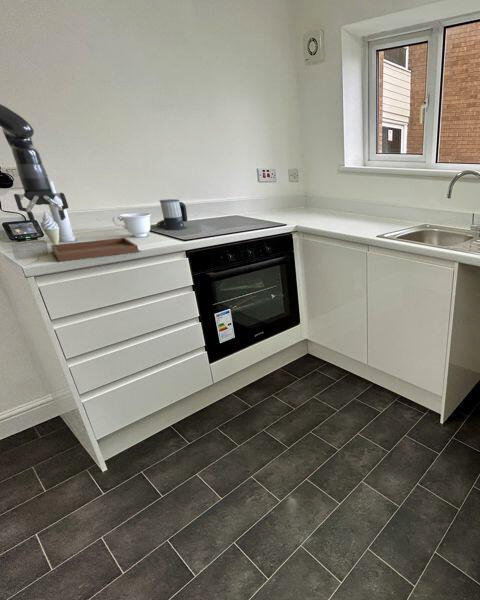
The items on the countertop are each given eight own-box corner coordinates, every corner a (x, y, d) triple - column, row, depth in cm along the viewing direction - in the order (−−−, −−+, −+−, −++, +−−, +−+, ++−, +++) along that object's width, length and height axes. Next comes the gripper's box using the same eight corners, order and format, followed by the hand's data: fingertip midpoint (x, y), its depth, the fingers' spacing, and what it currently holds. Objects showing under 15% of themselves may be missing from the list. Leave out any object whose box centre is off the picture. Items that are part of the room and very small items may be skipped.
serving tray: (59, 261, 124) (57, 254, 123) (52, 251, 136) (50, 245, 135) (138, 251, 141) (137, 245, 140) (126, 243, 153) (125, 237, 152)
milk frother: (180, 230, 185) (174, 201, 179) (148, 229, 183) (141, 200, 177) (191, 225, 198) (186, 198, 193) (161, 225, 196) (155, 197, 190)
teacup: (116, 235, 167) (110, 214, 163) (153, 232, 176) (148, 212, 172) (118, 240, 158) (112, 217, 155) (157, 236, 168) (152, 215, 164)
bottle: (76, 239, 158) (58, 180, 148) (75, 241, 154) (57, 181, 145) (60, 240, 154) (41, 180, 145) (59, 242, 151) (40, 181, 142)
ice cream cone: (49, 248, 141) (36, 210, 136) (66, 246, 144) (54, 209, 139) (48, 250, 137) (35, 211, 132) (65, 249, 141) (53, 211, 135)
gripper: (58, 176, 138) (71, 218, 144) (5, 176, 128) (21, 221, 134) (60, 177, 133) (74, 220, 139) (6, 177, 124) (23, 224, 130)
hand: (48, 220), depth 137 cm, fingers open, 7 cm apart
